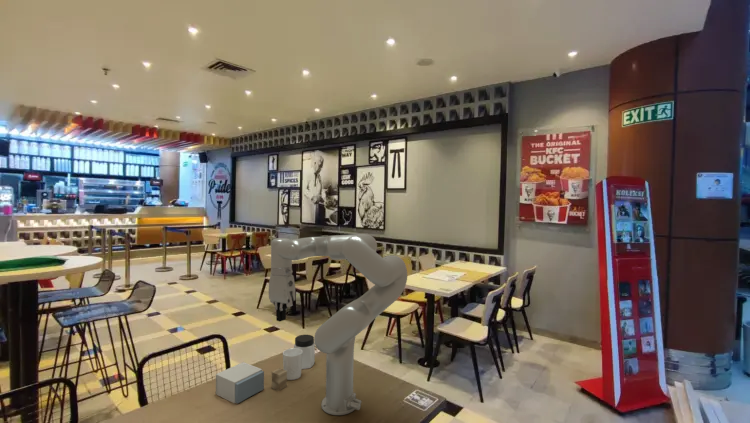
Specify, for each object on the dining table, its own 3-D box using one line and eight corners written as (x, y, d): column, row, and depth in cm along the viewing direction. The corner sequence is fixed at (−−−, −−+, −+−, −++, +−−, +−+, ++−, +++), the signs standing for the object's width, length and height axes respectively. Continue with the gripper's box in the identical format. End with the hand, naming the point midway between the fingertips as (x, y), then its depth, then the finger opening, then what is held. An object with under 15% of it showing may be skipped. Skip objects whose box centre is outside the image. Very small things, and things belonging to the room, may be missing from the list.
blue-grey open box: (263, 389, 134) (263, 371, 134) (237, 403, 124) (237, 384, 124) (244, 380, 140) (244, 364, 140) (218, 394, 130) (218, 376, 130)
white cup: (299, 381, 141) (300, 356, 140) (280, 380, 141) (280, 355, 141) (304, 371, 149) (304, 348, 148) (285, 371, 149) (285, 347, 149)
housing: (262, 388, 135) (262, 369, 134) (234, 403, 125) (234, 382, 124) (243, 380, 141) (243, 362, 140) (215, 394, 130) (215, 374, 130)
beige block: (286, 386, 137) (286, 370, 137) (278, 390, 133) (279, 375, 133) (279, 383, 139) (279, 368, 139) (271, 387, 135) (271, 372, 135)
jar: (318, 364, 155) (318, 337, 155) (303, 371, 149) (303, 343, 149) (305, 358, 161) (305, 332, 161) (290, 364, 155) (290, 337, 154)
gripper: (303, 272, 131) (302, 321, 131) (275, 267, 139) (275, 314, 139) (288, 275, 125) (287, 327, 125) (259, 270, 133) (259, 319, 133)
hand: (281, 320), depth 132 cm, fingers closed
